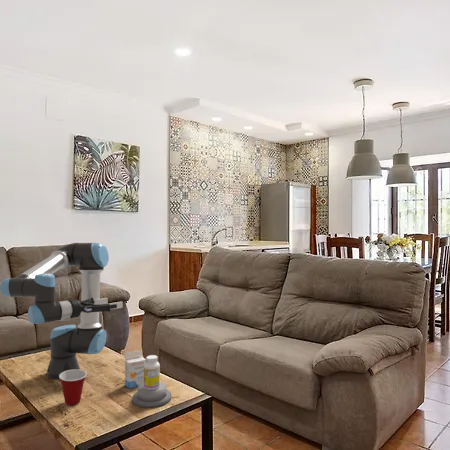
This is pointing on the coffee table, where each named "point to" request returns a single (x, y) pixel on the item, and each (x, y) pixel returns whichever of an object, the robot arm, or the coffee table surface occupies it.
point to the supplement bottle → (151, 373)
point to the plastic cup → (72, 385)
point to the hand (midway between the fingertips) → (114, 302)
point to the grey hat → (151, 396)
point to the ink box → (134, 369)
